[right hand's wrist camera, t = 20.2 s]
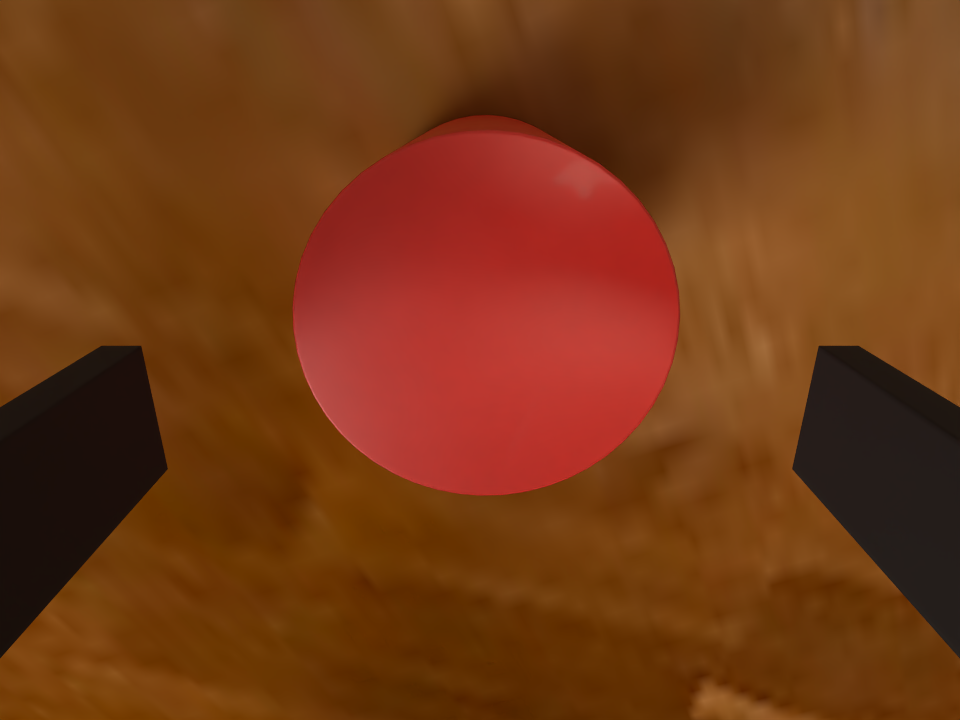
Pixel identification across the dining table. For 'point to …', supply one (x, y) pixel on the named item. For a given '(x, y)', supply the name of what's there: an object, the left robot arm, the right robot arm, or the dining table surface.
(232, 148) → the dining table surface
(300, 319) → the canister
